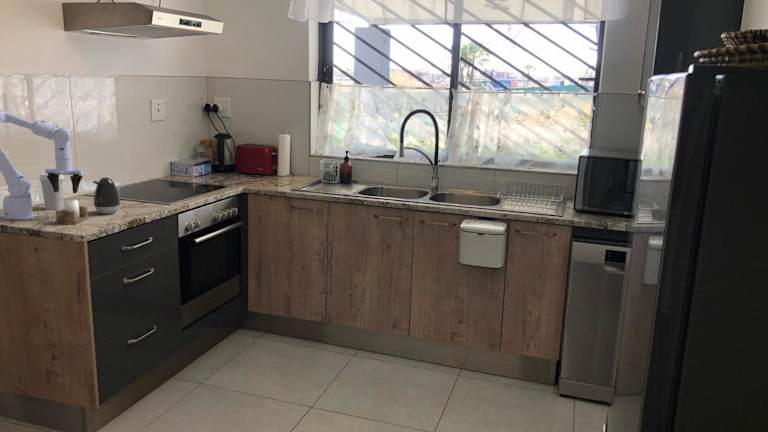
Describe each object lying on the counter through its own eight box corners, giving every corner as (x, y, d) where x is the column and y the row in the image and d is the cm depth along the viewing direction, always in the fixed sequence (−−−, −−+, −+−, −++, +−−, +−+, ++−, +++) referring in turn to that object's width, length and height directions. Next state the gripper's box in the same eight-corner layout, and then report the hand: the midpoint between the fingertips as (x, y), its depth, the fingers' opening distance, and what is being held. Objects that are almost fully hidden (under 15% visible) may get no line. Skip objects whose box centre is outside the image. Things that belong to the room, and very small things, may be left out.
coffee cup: (71, 208, 260) (68, 173, 257) (49, 211, 252) (46, 176, 249) (58, 205, 265) (55, 171, 261) (36, 208, 256) (33, 173, 253)
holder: (54, 223, 233) (53, 209, 231) (70, 217, 243) (69, 203, 242) (75, 224, 232) (74, 210, 231) (89, 218, 243) (88, 204, 242)
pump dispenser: (88, 213, 252) (86, 177, 249) (111, 209, 261) (109, 174, 258) (102, 216, 247) (100, 180, 244) (125, 212, 255) (123, 177, 252)
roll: (63, 219, 235) (61, 201, 234) (69, 216, 240) (67, 199, 239) (76, 219, 236) (75, 202, 234) (81, 217, 240) (80, 199, 239)
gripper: (39, 159, 236) (42, 193, 239) (76, 161, 236) (78, 194, 239) (49, 157, 243) (52, 190, 246) (85, 158, 243) (87, 191, 246)
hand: (66, 192), depth 243 cm, fingers open, 7 cm apart
